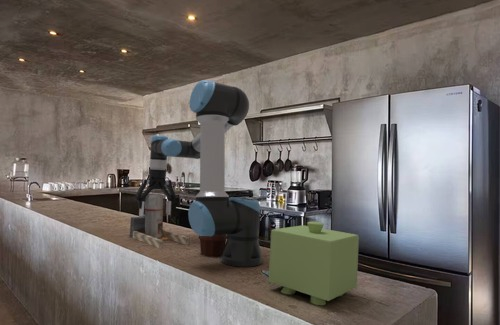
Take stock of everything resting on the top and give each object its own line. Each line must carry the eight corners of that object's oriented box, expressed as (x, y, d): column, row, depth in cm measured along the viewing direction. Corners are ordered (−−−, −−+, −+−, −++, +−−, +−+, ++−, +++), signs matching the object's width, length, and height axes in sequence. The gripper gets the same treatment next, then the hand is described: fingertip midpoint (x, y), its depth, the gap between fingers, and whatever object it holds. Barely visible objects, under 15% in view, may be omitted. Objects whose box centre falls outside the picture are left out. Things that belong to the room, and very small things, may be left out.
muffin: (193, 251, 138) (195, 226, 138) (219, 249, 143) (220, 225, 143) (203, 258, 127) (205, 231, 128) (230, 256, 133) (232, 230, 133)
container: (356, 295, 97) (359, 224, 97) (327, 310, 85) (331, 229, 85) (299, 278, 109) (302, 216, 110) (267, 289, 97) (271, 219, 98)
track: (189, 244, 149) (190, 223, 150) (159, 248, 139) (160, 226, 139) (157, 233, 169) (158, 215, 169) (129, 236, 158) (130, 217, 159)
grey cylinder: (151, 240, 151) (153, 194, 152) (139, 237, 156) (142, 193, 157) (166, 237, 158) (168, 194, 158) (155, 235, 163) (157, 193, 163)
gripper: (176, 170, 169) (174, 213, 169) (128, 167, 152) (125, 215, 151) (185, 170, 164) (182, 215, 163) (136, 168, 147) (132, 217, 146)
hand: (155, 215), depth 157 cm, fingers open, 13 cm apart
